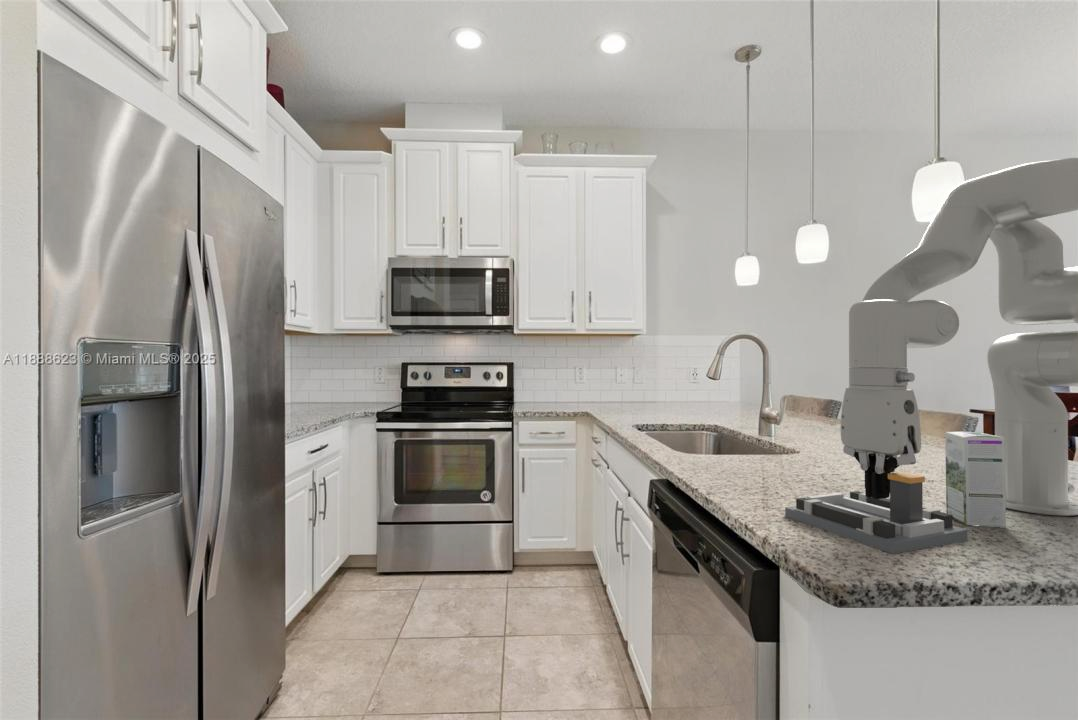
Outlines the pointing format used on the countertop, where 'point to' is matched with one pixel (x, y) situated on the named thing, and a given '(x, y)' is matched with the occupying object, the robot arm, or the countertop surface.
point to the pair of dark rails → (862, 521)
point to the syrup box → (975, 478)
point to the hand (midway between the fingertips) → (877, 496)
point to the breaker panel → (905, 535)
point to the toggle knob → (906, 497)
